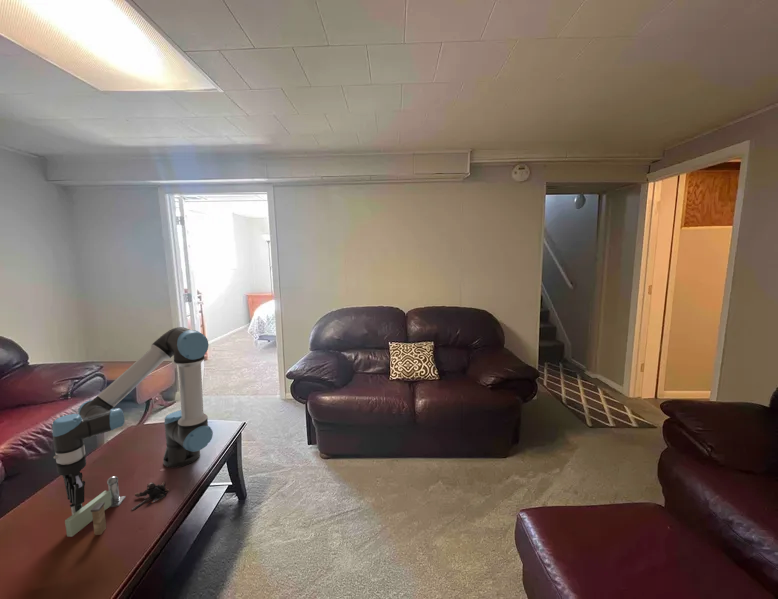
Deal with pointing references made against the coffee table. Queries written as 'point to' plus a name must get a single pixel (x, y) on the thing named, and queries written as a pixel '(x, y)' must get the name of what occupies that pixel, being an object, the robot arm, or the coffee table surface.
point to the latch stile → (99, 518)
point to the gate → (85, 514)
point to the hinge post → (114, 491)
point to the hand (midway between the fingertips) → (78, 518)
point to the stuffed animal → (152, 493)
